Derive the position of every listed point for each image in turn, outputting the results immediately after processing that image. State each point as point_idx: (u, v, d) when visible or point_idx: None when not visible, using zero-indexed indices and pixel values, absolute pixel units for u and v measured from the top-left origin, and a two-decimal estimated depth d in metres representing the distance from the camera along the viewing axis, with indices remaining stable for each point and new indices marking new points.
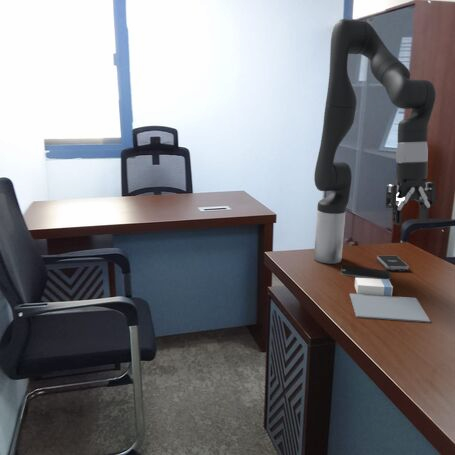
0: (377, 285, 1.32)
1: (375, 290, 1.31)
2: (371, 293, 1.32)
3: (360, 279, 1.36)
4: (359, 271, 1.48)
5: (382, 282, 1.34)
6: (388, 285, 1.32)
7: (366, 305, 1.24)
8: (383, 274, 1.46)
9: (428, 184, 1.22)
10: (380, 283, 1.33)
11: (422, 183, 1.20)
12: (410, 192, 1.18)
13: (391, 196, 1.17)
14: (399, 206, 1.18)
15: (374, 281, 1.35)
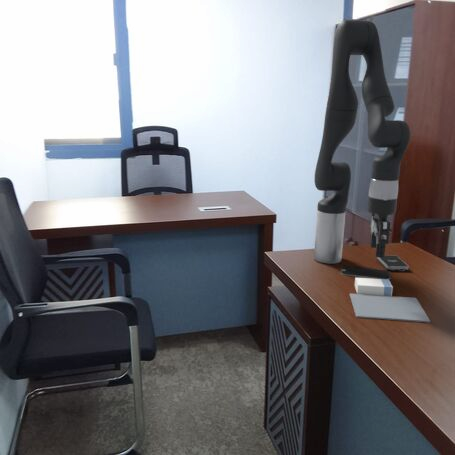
0: (377, 285, 1.32)
1: (375, 290, 1.31)
2: (371, 293, 1.32)
3: (360, 279, 1.36)
4: (359, 271, 1.48)
5: (382, 282, 1.34)
6: (388, 285, 1.32)
7: (366, 305, 1.24)
8: (383, 274, 1.46)
9: None
10: (380, 283, 1.33)
11: None
12: None
13: (387, 233, 1.22)
14: None
15: (374, 281, 1.35)
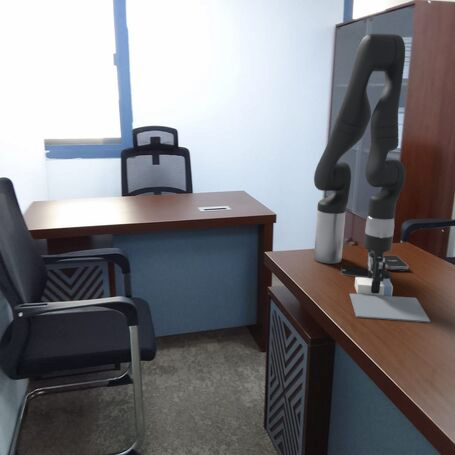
0: None
1: None
2: (371, 293, 1.32)
3: (360, 279, 1.36)
4: (359, 271, 1.48)
5: None
6: (388, 285, 1.32)
7: (366, 305, 1.24)
8: None
9: None
10: (380, 283, 1.33)
11: None
12: None
13: (382, 272, 1.26)
14: None
15: None
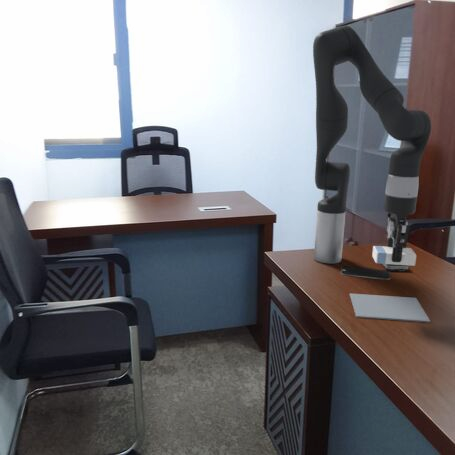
0: (389, 247, 1.21)
1: None
2: None
3: (409, 253, 1.18)
4: (359, 271, 1.48)
5: (384, 250, 1.19)
6: (377, 247, 1.22)
7: (366, 305, 1.24)
8: (383, 274, 1.46)
9: None
10: (386, 249, 1.20)
11: (396, 218, 1.14)
12: (388, 222, 1.19)
13: None
14: (387, 235, 1.22)
15: None
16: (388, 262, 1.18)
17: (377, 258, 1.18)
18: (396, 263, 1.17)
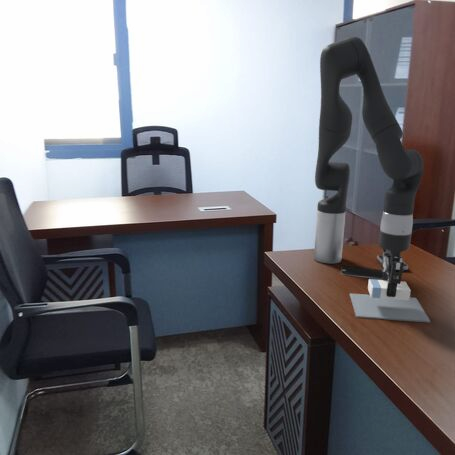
0: (384, 281, 1.24)
1: None
2: None
3: (404, 287, 1.20)
4: (359, 271, 1.48)
5: (379, 284, 1.22)
6: (373, 280, 1.24)
7: (366, 305, 1.24)
8: None
9: (395, 262, 1.15)
10: (381, 283, 1.23)
11: (390, 255, 1.17)
12: (383, 257, 1.22)
13: None
14: (383, 268, 1.25)
15: None
16: (383, 296, 1.20)
17: (372, 292, 1.20)
18: (391, 298, 1.20)
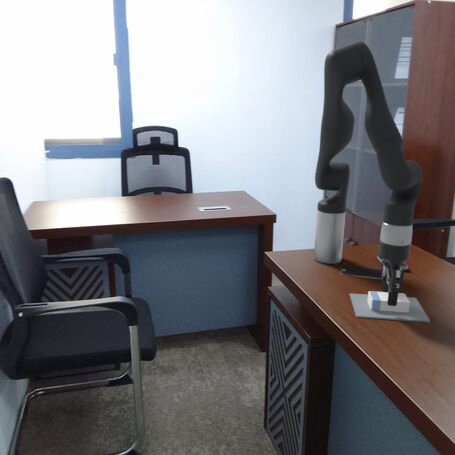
0: (384, 293, 1.25)
1: None
2: None
3: (403, 300, 1.21)
4: (359, 271, 1.48)
5: (379, 296, 1.23)
6: (372, 292, 1.25)
7: (366, 305, 1.24)
8: None
9: None
10: (381, 295, 1.24)
11: (390, 265, 1.18)
12: (383, 266, 1.23)
13: None
14: (382, 274, 1.26)
15: None
16: (382, 309, 1.21)
17: (372, 305, 1.21)
18: (390, 310, 1.21)
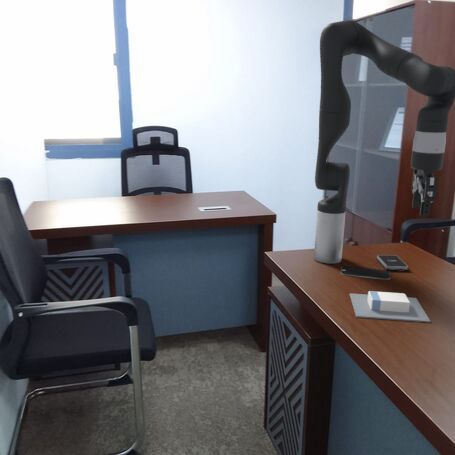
0: (384, 293, 1.25)
1: None
2: None
3: (403, 300, 1.21)
4: (359, 271, 1.48)
5: (379, 296, 1.23)
6: (372, 292, 1.25)
7: (366, 305, 1.24)
8: (383, 274, 1.46)
9: None
10: (381, 295, 1.24)
11: (423, 175, 1.17)
12: (414, 179, 1.21)
13: None
14: (413, 190, 1.25)
15: (388, 297, 1.22)
16: (382, 309, 1.21)
17: (372, 305, 1.21)
18: (390, 310, 1.21)
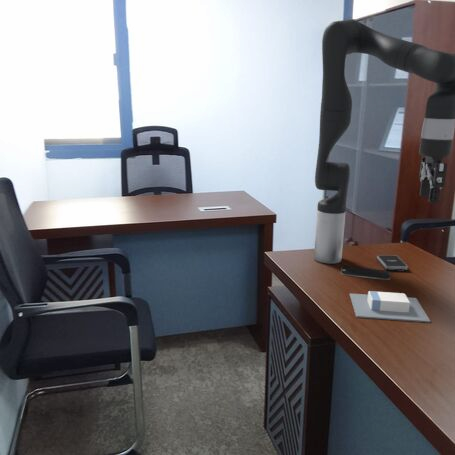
0: (384, 293, 1.25)
1: None
2: None
3: (403, 300, 1.21)
4: (359, 271, 1.48)
5: (379, 296, 1.23)
6: (372, 292, 1.25)
7: (366, 305, 1.24)
8: (383, 274, 1.46)
9: None
10: (381, 295, 1.24)
11: (432, 161, 1.18)
12: (423, 166, 1.22)
13: None
14: (421, 178, 1.26)
15: (388, 297, 1.22)
16: (382, 309, 1.21)
17: (372, 305, 1.21)
18: (390, 310, 1.21)
